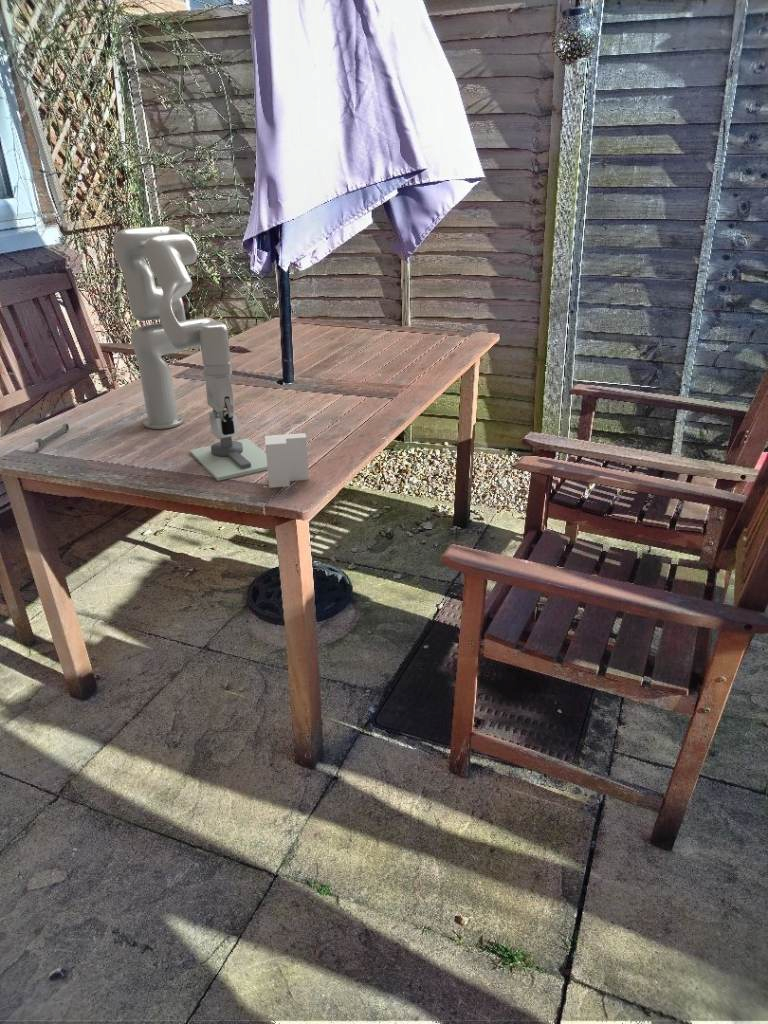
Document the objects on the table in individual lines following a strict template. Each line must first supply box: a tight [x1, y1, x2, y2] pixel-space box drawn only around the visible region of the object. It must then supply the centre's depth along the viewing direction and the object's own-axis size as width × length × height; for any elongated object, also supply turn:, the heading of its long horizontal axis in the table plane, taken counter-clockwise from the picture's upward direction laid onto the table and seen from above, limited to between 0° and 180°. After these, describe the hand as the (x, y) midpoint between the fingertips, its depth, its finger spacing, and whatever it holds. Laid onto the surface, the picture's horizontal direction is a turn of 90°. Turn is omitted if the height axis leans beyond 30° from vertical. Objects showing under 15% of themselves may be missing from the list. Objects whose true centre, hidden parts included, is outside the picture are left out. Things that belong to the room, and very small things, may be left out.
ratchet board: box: [189, 436, 268, 482], centre depth 201 cm, size 24×18×6 cm
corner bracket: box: [264, 432, 310, 488], centre depth 188 cm, size 11×11×12 cm
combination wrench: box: [34, 423, 70, 452], centre depth 217 cm, size 4×1×20 cm
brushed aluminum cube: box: [208, 411, 239, 440], centre depth 202 cm, size 6×6×6 cm
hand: (224, 430), depth 202 cm, fingers closed on brushed aluminum cube, 6 cm apart
